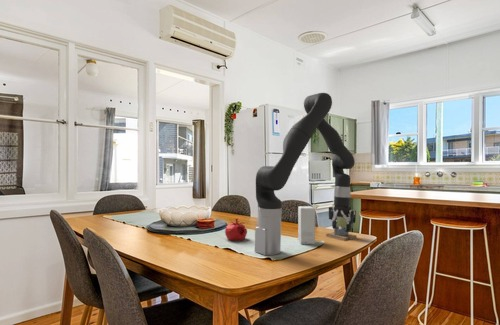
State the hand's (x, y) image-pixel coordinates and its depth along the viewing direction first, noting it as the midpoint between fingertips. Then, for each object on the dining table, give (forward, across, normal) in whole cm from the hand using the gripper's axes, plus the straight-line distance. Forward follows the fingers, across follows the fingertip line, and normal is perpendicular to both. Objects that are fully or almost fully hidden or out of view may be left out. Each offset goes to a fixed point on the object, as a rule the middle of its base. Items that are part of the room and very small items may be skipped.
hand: (341, 230), depth 148 cm
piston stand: (+3, 0, 0) cm, 3 cm away
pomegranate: (+4, -24, -45) cm, 51 cm away
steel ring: (+2, 0, 0) cm, 2 cm away
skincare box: (+4, -3, -22) cm, 22 cm away
